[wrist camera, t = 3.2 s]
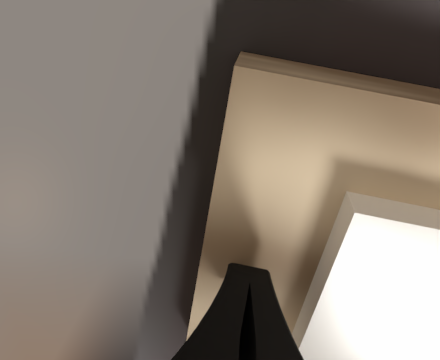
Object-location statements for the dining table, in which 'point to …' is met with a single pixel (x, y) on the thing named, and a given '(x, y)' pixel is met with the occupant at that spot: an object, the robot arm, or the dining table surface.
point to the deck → (309, 167)
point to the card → (375, 285)
